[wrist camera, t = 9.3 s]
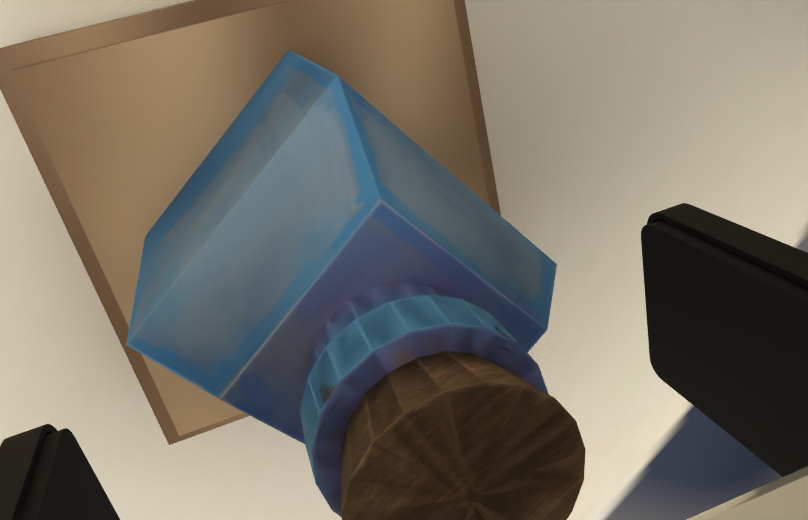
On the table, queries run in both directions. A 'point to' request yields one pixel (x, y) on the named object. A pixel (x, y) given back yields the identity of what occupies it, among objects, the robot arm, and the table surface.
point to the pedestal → (219, 123)
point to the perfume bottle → (361, 311)
